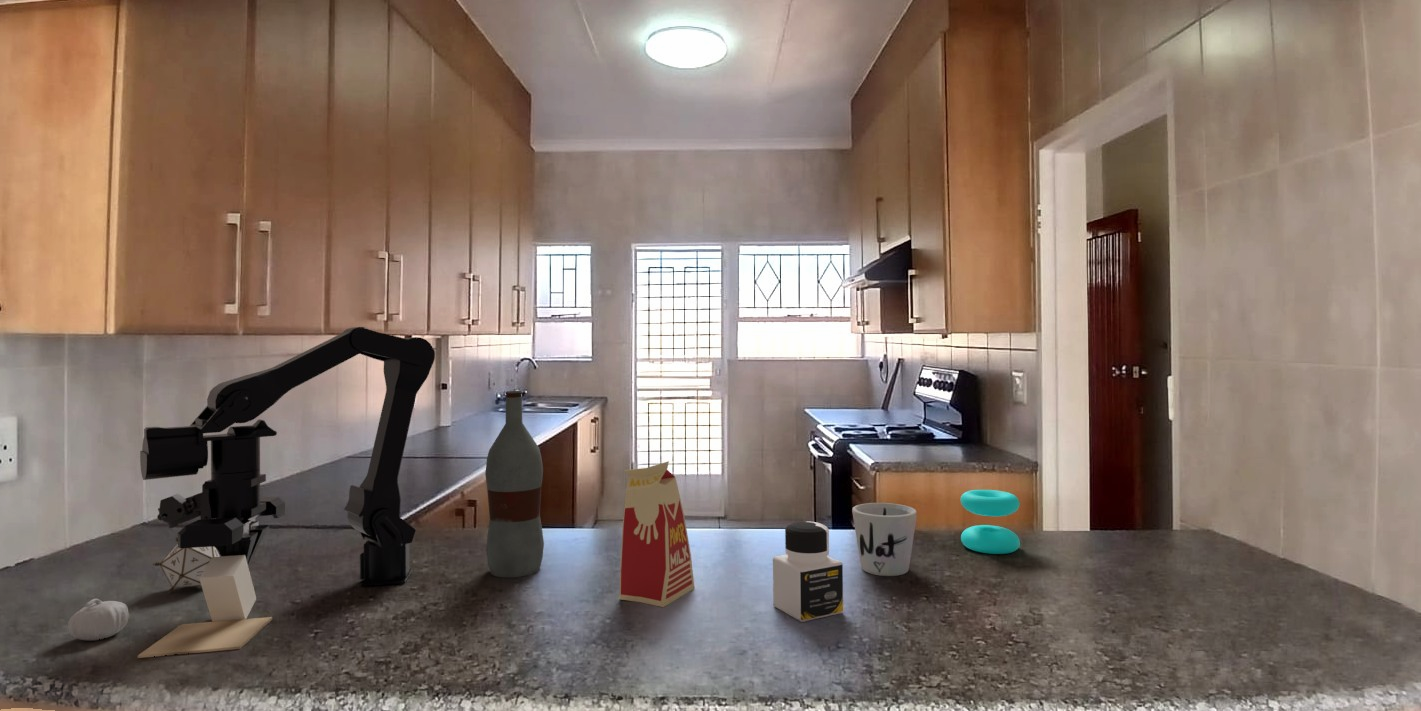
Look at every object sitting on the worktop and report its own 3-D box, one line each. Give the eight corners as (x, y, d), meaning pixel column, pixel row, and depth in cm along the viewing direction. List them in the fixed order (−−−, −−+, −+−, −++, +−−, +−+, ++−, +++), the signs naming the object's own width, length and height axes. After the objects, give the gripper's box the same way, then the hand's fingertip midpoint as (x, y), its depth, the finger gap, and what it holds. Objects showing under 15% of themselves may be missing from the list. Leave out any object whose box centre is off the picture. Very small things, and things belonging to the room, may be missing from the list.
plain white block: (256, 598, 99) (245, 554, 96) (245, 620, 96) (233, 575, 92) (225, 600, 98) (212, 556, 95) (212, 622, 95) (199, 578, 91)
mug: (847, 575, 112) (846, 513, 112) (863, 550, 126) (862, 495, 126) (914, 582, 109) (913, 518, 109) (923, 556, 122) (922, 499, 122)
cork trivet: (272, 619, 96) (272, 616, 96) (240, 648, 86) (240, 646, 86) (181, 626, 94) (181, 624, 94) (137, 658, 84) (137, 655, 84)
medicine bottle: (801, 623, 93) (800, 533, 93) (772, 606, 99) (771, 521, 99) (844, 613, 96) (843, 526, 96) (813, 597, 102) (812, 516, 102)
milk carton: (694, 587, 107) (693, 457, 107) (665, 608, 99) (664, 466, 99) (643, 580, 111) (641, 454, 111) (611, 599, 103) (609, 463, 103)
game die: (194, 615, 108) (177, 575, 102) (152, 592, 109) (133, 552, 104) (245, 572, 115) (232, 533, 109) (205, 551, 117) (190, 511, 111)
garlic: (78, 650, 86) (77, 608, 86) (62, 641, 89) (62, 600, 89) (137, 633, 92) (137, 594, 92) (121, 625, 94) (120, 587, 94)
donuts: (1012, 501, 120) (953, 495, 126) (1012, 559, 120) (954, 550, 126) (1024, 491, 128) (969, 486, 134) (1025, 546, 128) (969, 538, 134)
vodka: (541, 559, 123) (540, 389, 123) (546, 575, 114) (544, 391, 114) (485, 565, 120) (484, 390, 120) (486, 581, 111) (484, 393, 111)
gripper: (204, 462, 105) (205, 566, 105) (129, 485, 87) (130, 610, 87) (286, 460, 108) (286, 561, 108) (229, 481, 89) (230, 602, 89)
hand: (236, 581), depth 98 cm, fingers closed
